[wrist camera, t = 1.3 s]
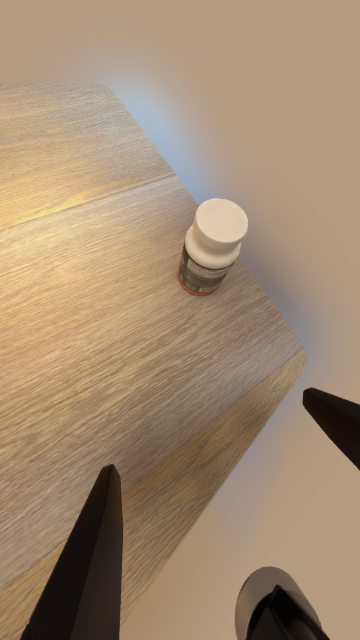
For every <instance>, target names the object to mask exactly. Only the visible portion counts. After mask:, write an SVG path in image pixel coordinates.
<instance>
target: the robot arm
mask: <svg viewBox="0 0 360 640" xmlns="http://www.w3.org/2000/svg"><path fill="white" fill-rule="evenodd" d="M303 406H304V407H305V409H306V410H307V411H308V412H309V414H310V415H311V416H312V417H313V419H314V420H315V421H316V422H317V424H318V425H319V426H320V427H321V428H322V430H323V431H324V432H325V433H326V435H327V436H328V437H329V438H330V439H331V440H332V441H333V443H334V444H335V445H336V446H337V447H338V448H339V449H340V450H341V451H342V452H343V453H344V454H345V455H346V456H347V457H348V458H349V460H350V461H352V463H353V464H354V465H355V466H356V467H357V468H358V469H359V470H360V405H359V404H357V403H354V402H351V401H348V400H345V399H343V398H340V397H337V396H335V395H332V394H329V393H326V392H323V391H321V390H318V389H315V388H308V389H306V390H304V392H303ZM122 551H123V516H122V496H121V479H120V475H119V473H118V471H117V469H116V467H115V466H114V464H110V465H107V466H105V467H103V468H102V469H101V471H100V473H99V475H98V477H97V480H96V482H95V484H94V486H93V488H92V490H91V492H90V494H89V496H88V498H87V500H86V503H85V505H84V507H83V509H82V511H81V513H80V515H79V517H78V519H77V521H76V523H75V525H74V528H73V530H72V532H71V534H70V536H69V538H68V540H67V542H66V544H65V546H64V548H63V550H62V553H61V555H60V557H59V559H58V561H57V563H56V565H55V567H54V569H53V571H52V573H51V576H50V578H49V580H48V582H47V584H46V586H45V588H44V590H43V592H42V594H41V596H40V598H39V601H38V603H37V605H36V607H35V609H34V611H33V613H32V615H31V617H30V620H29V624H27V625H26V627H25V629H24V632H23V634H22V636H21V638H20V640H119V630H120V604H121V578H122ZM280 592H281V594H280V595H279V593H280ZM249 640H330V639H329V638H328V636H327V635H326V633H325V632H324V631H323V630H322V629H321V628H320V627H319V626H318V625H317V624H316V623H315V621H314V620H313V619H312V618H311V617H310V616H309V615H308V614H307V613H306V612H305V611H304V610H303V609H302V608H301V607H300V605H299V604H298V603H297V602H296V601H295V600H294V599H293V598H292V597H291V596H290V595H289V594H288V593H287V592H286V591H285V589H284V588H283V587H282V586H281V585H278V584H277V585H276V586H275V587H274V589H273V591H272V593H271V595H270V597H269V599H268V601H267V603H266V605H265V607H264V609H263V611H262V613H261V615H260V618H259V620H258V622H257V624H256V626H255V628H254V630H253V632H252V634H251V636H250V638H249Z"/></svg>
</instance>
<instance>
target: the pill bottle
mask: <svg viewBox="0 0 360 640" xmlns="http://www.w3.org/2000/svg"><path fill="white" fill-rule="evenodd" d="M247 229H248V219H247V216H246V214H245V213H244V211H243V210H242V209H241V208H240V207H239V206H238V205H237V204H235V203H233V202H231V201H229V200H226V199H219V198H216V199H210V200H207V201H205V202H203V203H202V204H201V205H200V206H199V207H198V209H197V211H196V215H195V218H194V221H193V224H192V226H191V227H190V228H189V230H188V231H187V234H186V237H185V242H184V247H183V252H182V257H181V262H180V267H179V279H180V282H181V284H182V285H183V287H184V288H185V289H186V290H188V291H189V292H191V293H193V294H197V295H206V294H209V293H211V292H213V291H214V290H215V289H216V288H217V287H218V286H219V284H220V283H221V281H222V280H223V278H224V277H225V275H226V274H227V272H228V271H229V269H230V268H231V266H232V265H233V263H234V262H235V260H236V258H237V257H238V255H239V252H240V248H241V241H242V239H243V237H244V236H245V234H246V232H247Z"/></svg>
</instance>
